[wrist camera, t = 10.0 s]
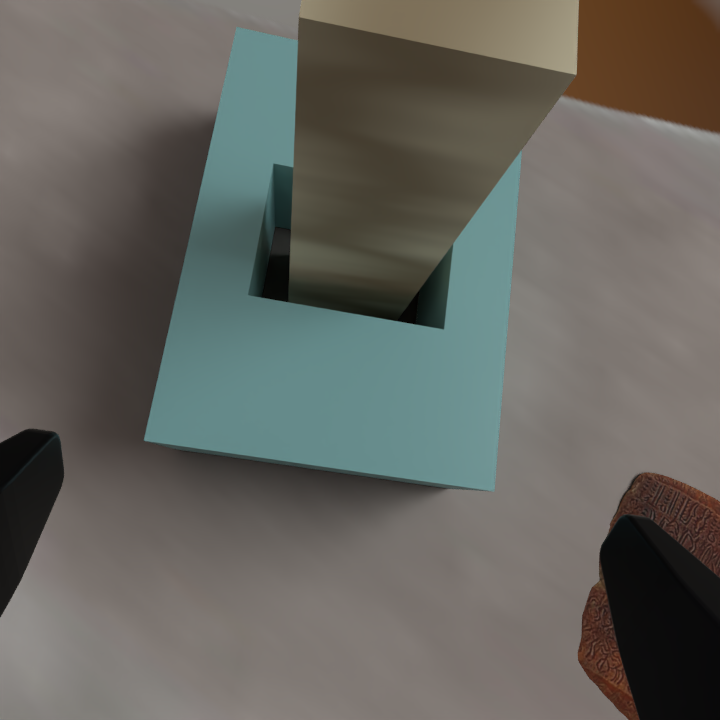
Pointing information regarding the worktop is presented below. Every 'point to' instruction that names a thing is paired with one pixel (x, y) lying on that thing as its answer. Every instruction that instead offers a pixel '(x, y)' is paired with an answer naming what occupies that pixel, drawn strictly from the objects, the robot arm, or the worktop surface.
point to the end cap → (326, 322)
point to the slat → (410, 133)
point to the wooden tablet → (598, 642)
